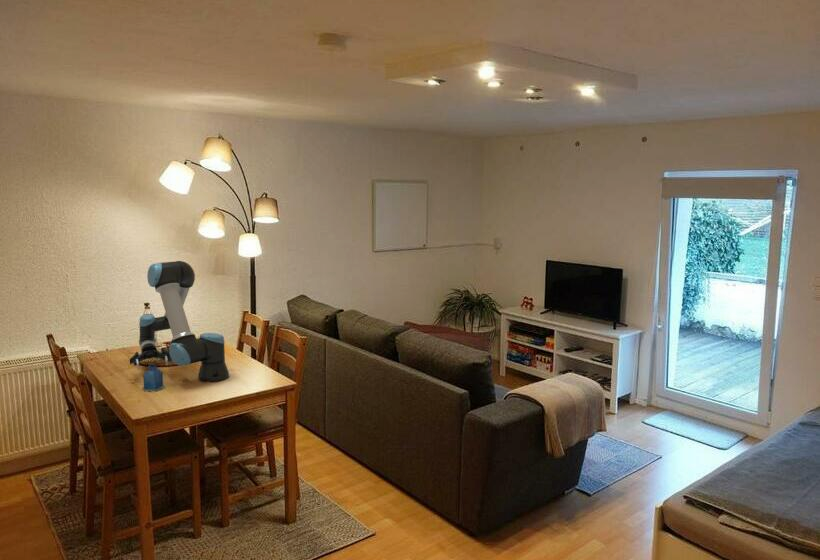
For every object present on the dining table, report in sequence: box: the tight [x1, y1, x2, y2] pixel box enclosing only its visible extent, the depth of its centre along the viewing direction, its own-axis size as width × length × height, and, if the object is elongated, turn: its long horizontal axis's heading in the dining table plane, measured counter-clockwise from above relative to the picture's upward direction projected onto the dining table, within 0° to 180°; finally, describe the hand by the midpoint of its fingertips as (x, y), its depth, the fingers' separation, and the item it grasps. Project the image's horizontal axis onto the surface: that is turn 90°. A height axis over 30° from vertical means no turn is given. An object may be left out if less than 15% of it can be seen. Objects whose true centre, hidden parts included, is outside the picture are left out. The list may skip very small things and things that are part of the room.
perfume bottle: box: [142, 362, 164, 390], centre depth 287 cm, size 6×6×12 cm
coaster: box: [141, 384, 165, 393], centre depth 288 cm, size 10×10×1 cm
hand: (152, 364), depth 296 cm, fingers open, 13 cm apart
